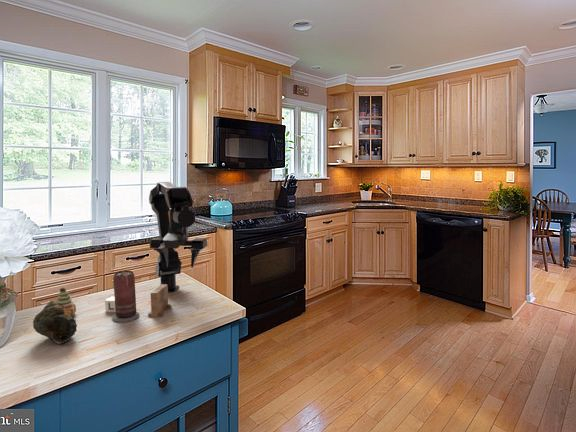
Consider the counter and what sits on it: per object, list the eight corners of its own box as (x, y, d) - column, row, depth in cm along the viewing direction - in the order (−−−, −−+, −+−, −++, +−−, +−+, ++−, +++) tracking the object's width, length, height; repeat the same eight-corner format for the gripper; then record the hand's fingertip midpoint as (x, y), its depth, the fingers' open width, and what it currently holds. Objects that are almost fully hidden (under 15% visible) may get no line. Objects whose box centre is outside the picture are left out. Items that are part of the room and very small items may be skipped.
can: (121, 320, 114) (118, 277, 112) (112, 315, 118) (109, 273, 116) (140, 314, 119) (138, 273, 117) (131, 309, 123) (128, 268, 121)
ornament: (45, 323, 113) (42, 292, 112) (48, 316, 118) (46, 286, 117) (75, 319, 116) (73, 288, 115) (76, 312, 122) (74, 283, 121)
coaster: (120, 312, 122) (120, 310, 122) (143, 312, 122) (143, 311, 122) (106, 322, 114) (106, 320, 114) (131, 322, 114) (131, 321, 114)
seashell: (28, 353, 95) (25, 316, 93) (38, 335, 105) (35, 301, 104) (76, 346, 99) (73, 310, 98) (80, 329, 109) (78, 296, 108)
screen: (159, 306, 128) (158, 284, 127) (171, 306, 127) (171, 284, 126) (147, 316, 119) (146, 292, 118) (161, 317, 118) (160, 293, 117)
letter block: (111, 307, 127) (111, 296, 126) (123, 307, 126) (122, 296, 126) (105, 312, 123) (104, 300, 122) (117, 312, 122) (116, 300, 122)
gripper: (141, 226, 120) (143, 272, 122) (197, 227, 119) (198, 274, 121) (155, 221, 131) (157, 264, 133) (207, 222, 130) (208, 265, 132)
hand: (179, 267), depth 130 cm, fingers open, 9 cm apart
